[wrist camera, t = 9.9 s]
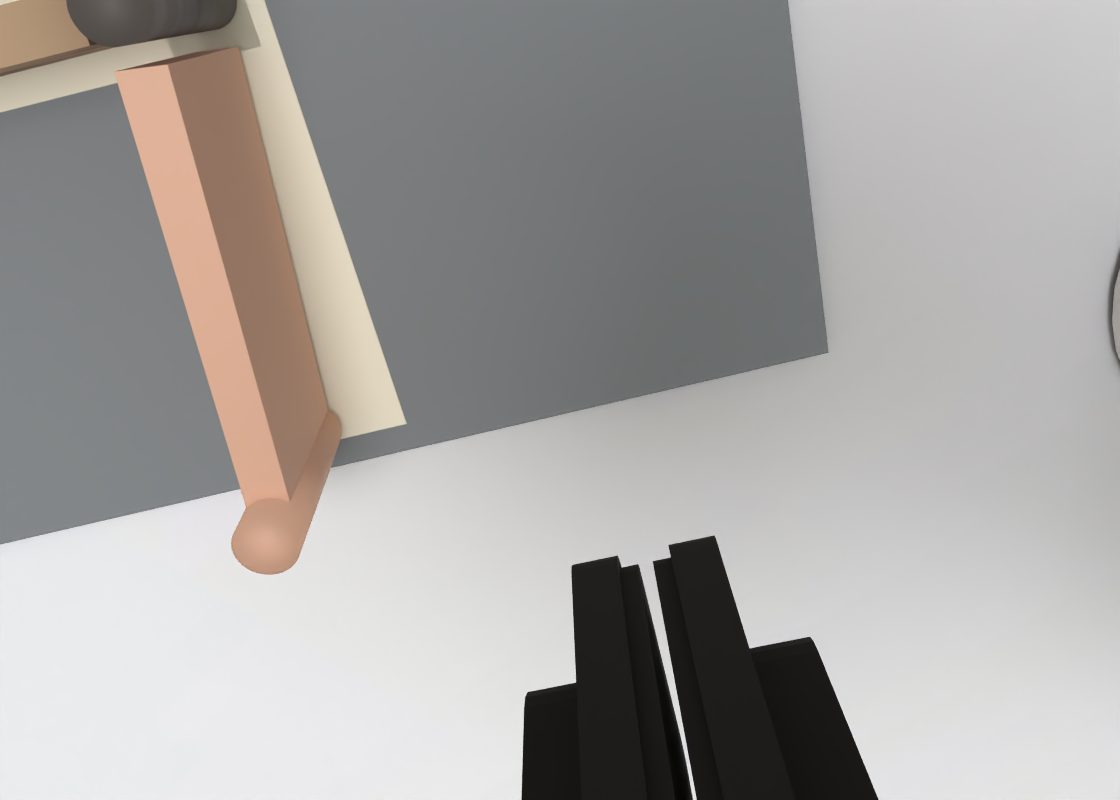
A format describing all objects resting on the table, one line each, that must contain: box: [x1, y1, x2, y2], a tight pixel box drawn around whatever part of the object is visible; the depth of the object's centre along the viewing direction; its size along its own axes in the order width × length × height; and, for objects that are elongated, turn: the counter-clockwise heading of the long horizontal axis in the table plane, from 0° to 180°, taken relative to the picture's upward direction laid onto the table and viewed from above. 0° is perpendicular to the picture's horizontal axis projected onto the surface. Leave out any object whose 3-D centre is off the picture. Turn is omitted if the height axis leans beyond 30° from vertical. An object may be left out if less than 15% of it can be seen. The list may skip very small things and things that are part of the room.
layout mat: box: [0, 0, 828, 544], centre depth 28 cm, size 31×22×1 cm
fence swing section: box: [114, 47, 342, 575], centre depth 26 cm, size 13×2×7 cm, turn 7°
